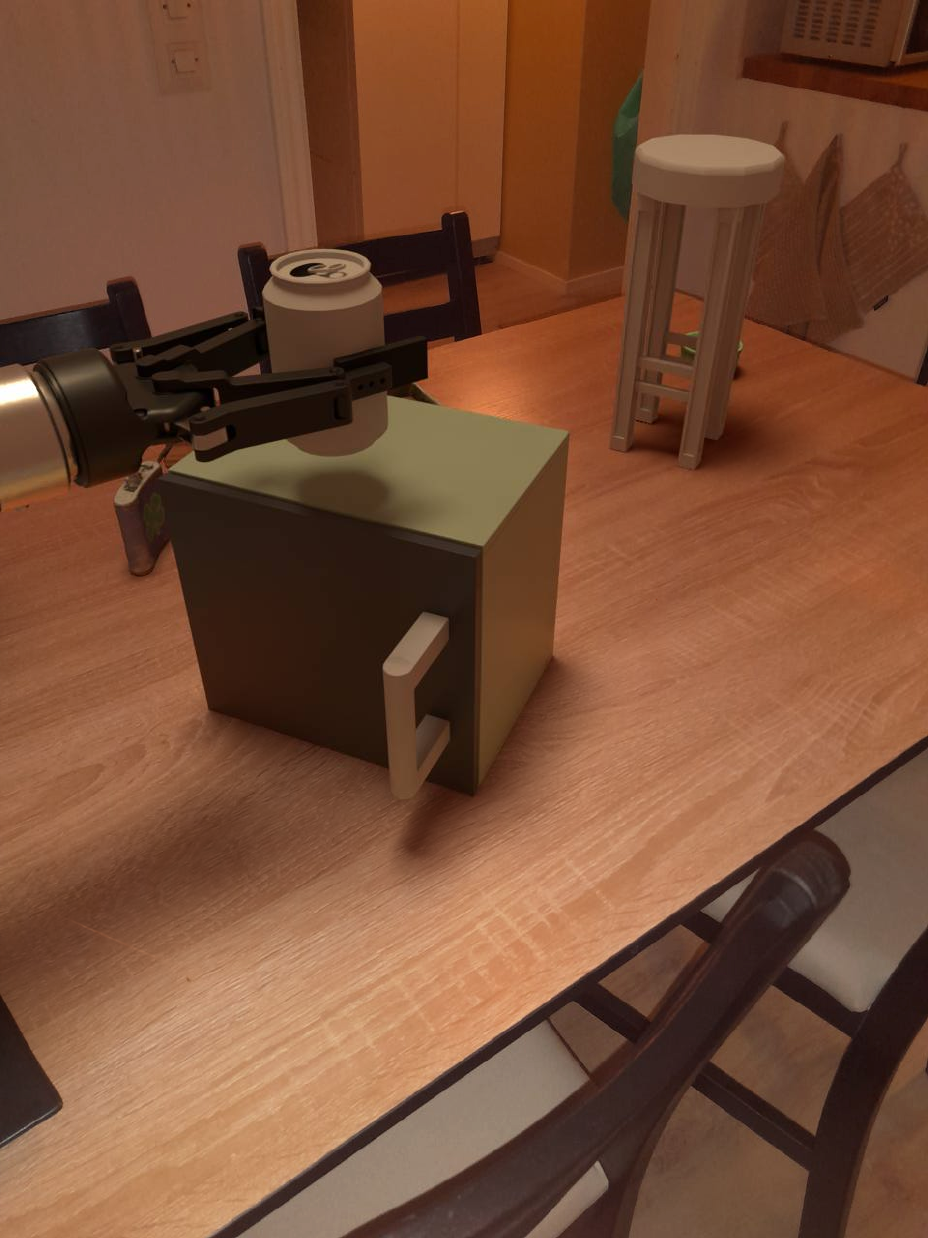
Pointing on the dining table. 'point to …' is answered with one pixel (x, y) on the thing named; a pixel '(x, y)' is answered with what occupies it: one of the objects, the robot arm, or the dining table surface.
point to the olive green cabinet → (446, 522)
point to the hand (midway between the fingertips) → (390, 337)
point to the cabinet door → (333, 629)
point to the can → (327, 333)
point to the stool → (678, 178)
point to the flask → (142, 517)
